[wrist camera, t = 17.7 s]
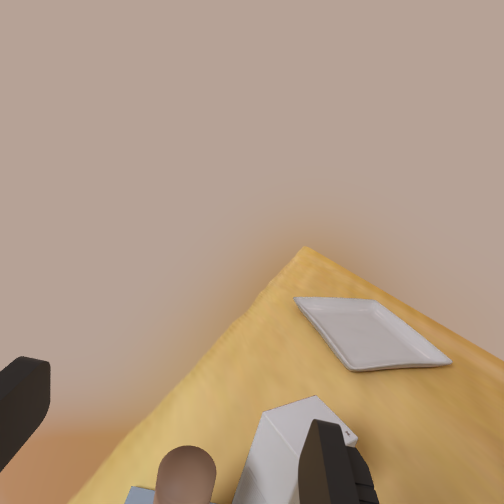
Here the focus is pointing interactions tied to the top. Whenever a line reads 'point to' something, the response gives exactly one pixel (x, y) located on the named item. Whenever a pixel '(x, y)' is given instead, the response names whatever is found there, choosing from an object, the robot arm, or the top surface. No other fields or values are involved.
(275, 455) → the small box
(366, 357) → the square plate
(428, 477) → the top surface
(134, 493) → the mat
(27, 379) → the robot arm
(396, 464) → the top surface
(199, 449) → the plug
